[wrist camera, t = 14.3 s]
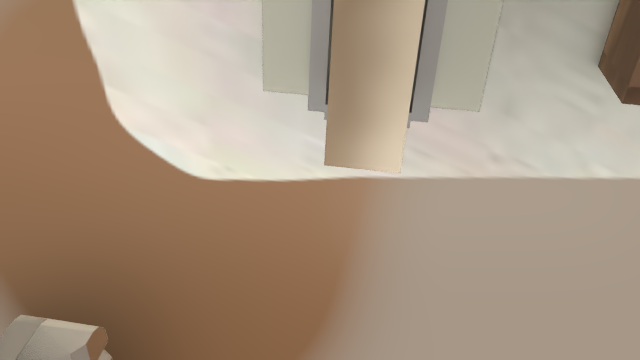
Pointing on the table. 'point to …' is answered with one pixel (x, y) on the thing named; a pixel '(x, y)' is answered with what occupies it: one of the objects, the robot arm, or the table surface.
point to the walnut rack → (624, 53)
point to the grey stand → (432, 59)
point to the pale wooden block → (371, 82)
